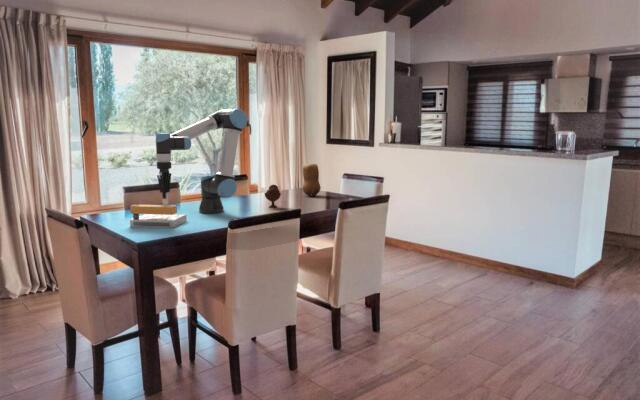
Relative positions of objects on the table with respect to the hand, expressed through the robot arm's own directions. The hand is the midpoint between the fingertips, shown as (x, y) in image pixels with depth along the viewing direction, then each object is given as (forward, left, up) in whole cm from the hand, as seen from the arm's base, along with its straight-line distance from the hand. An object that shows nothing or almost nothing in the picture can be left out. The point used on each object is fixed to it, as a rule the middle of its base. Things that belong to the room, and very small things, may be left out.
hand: (165, 204), depth 267 cm
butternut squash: (-110, +65, -11) cm, 128 cm away
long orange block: (+9, -3, -3) cm, 10 cm away
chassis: (+3, -3, -11) cm, 12 cm away
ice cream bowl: (-58, +47, -11) cm, 76 cm away
